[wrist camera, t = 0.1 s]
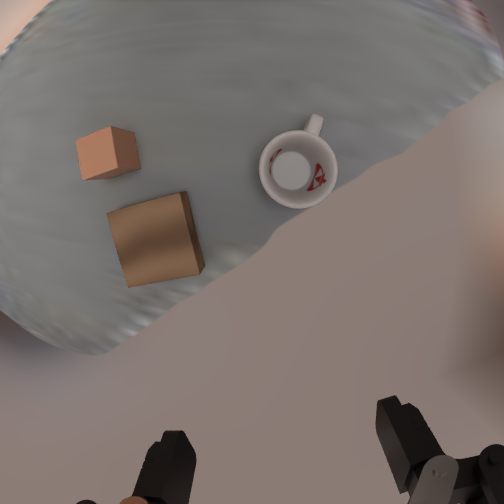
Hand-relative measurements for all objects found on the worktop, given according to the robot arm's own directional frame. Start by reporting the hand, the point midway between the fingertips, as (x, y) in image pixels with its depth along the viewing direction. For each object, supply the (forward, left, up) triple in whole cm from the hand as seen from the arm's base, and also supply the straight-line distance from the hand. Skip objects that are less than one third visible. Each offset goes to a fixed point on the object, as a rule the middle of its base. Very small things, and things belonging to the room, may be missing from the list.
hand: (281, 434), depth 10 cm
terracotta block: (-17, -16, -29) cm, 37 cm away
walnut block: (-5, -13, -30) cm, 33 cm away
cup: (-11, +6, -29) cm, 32 cm away
